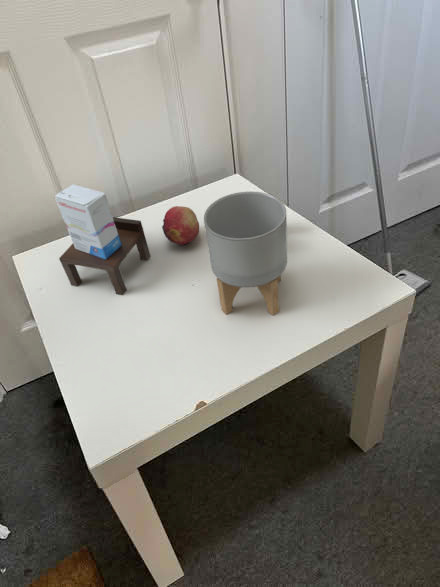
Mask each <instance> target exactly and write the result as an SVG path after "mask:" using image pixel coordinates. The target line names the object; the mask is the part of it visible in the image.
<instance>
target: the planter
mask: <svg viewBox="0 0 440 587" xmlns="http://www.w3.org/2000/svg"><path fill="white" fill-rule="evenodd" d="M203 224H204V232H205V236H206V243H207V248H208V254H209V260H210V267H211V271H212V273H213V274H214V276H215V277H216V283H217V290H218V296H219V304H220V308H221V309H220V310H221V312H222V313H224V314H225V315H228V314H230V313H232V312H233V304H234V300H235V298H236V296H237V294H238V292H239V291H240V289H241V288H256V287H257V289H258V290H259V292H260V293H261V295H262V297H263V299H264V301H265V304H266V307H267V313H269V314H270V315H271V316H274V315H276V314H277V313H279V312H280V302H279V301H280V298H279V282H280V281H281V280H282V274H283V273H284V271H285V270H286V267H287V264H288V238H287V237H288V233H287V232H288V230H287V228H288V227H287V208H286V205H285V204H284V203H283V202H282V200H280V198H278V197H276V196H274V195H272V194H269V193H267V192H261V191H239V192H233V193H230V194H227V195H224V196H222V197H220V198H218V199H216V200H215V201H213V202H212V203H211V204H210V205H209V206H208V207H207V208H206V210H205V211H204V214H203Z"/></svg>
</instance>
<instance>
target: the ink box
mask: <svg viewBox="0 0 440 587" xmlns="http://www.w3.org/2000/svg"><path fill="white" fill-rule="evenodd" d="M54 199H55V201H56V204H57V206H58V209H59V212H60V214H61V216H62V219H63V221H64V224H65V226H66V229H67V231H68V235H69V236H70V239H71V241H72V244H74V247H75V249H78V250H80V251H83V252H86V253H89V254H91V255H94V256H97V257H100V258H102V259H107V258H108V257H110V256H111V255H112V254H113V253H114V252H115V251H116V250H117V249H119V248H120V247H121V246H122V245H121V242H120V239H119V235H118V232H117V229H116V226H115V223H114V220H113V217H114V216H113V213H112V210H111V207H110V204H109V201H108V198H107V195H106V192H103V191H99V190H96V189H93V188H88V187H84V186H81V185H78V184H74V183H72V184H71V185H69V186H68V187H66V188H65V189H63V190H61V191H60V192H58V193H57V194H55V196H54Z"/></svg>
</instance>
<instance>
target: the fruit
mask: <svg viewBox="0 0 440 587" xmlns="http://www.w3.org/2000/svg"><path fill="white" fill-rule="evenodd" d="M163 217H164V218H163V220H162V222H163V224H162V226H161V228H162V232H163V235H164V236H165V238H166V239H167V241H169V242H170V243H172V244H174V245H175V244H176V245H179V246H182V245H187V244H189V243H192V242H193V241H194V240H196V238H197V236H198V235H199V233H200V223H199V220H198V217H197V215H196V213H195V212H194V211H193V209H192V208H190V207H187V206H180V205H179V206H178V205H175V206H172V207H170V208H169V209H168V210H167V211H166V212H165V214H164V216H163Z"/></svg>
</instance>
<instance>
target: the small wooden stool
mask: <svg viewBox="0 0 440 587" xmlns="http://www.w3.org/2000/svg"><path fill="white" fill-rule="evenodd" d="M113 220H114V223H115V226H116V229H117V232H118V235H119V239H120V242H121V245H122V246H121V247H120V248H119V249H117V250H116V251H115V252H114V253H113V254H112V255H111V256H110V257H108V258H107V259H102V258H100V257H97V256H94V255H91V254H89V253H86V252H83V251H80V250H78V249H75V247H74V244H73V243H71V244H70V245H69V247H68V248H67V249H66V250H65V251H64V252H63V253H62V254H61V255H60V257H59V258H58V260H59V262H60V264H61V266H62V268H63V270H64V273H65V275H66V277H67V279H68V281H69V284H70V285H71V286H74V287H79V286H80V284H81V283H82V278H81V276H80V274H79V271H78V269H77V267H76V266H79V267H85V268H91V269H95V270H102V271H107V274H108V277H109V279H110V281H111V285H112V287H113V289H114V292H115V295H120V296H124V294H125V293H126V292H127V290H128V289H127V286H126V284H125V283H126V282H125V280H124V277H123V274H122V272H121V269H120V265H121V264H122V262H123V261H124V260H125V259H126V258H127V256H128V255H129V253H130V252H131V251H132V250H133V249H134V247H135V246H136V249H137V252H138V256H139V259H140V261H144V262H145V261H146V262H148V261H149V260H150V258H151V253H150V250H149V249H150V248H149V245H148V242H147V238H146V235H145V231H144V228H143V224H142V221H141V220H138V219H131V218H123V217H114V216H113Z"/></svg>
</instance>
